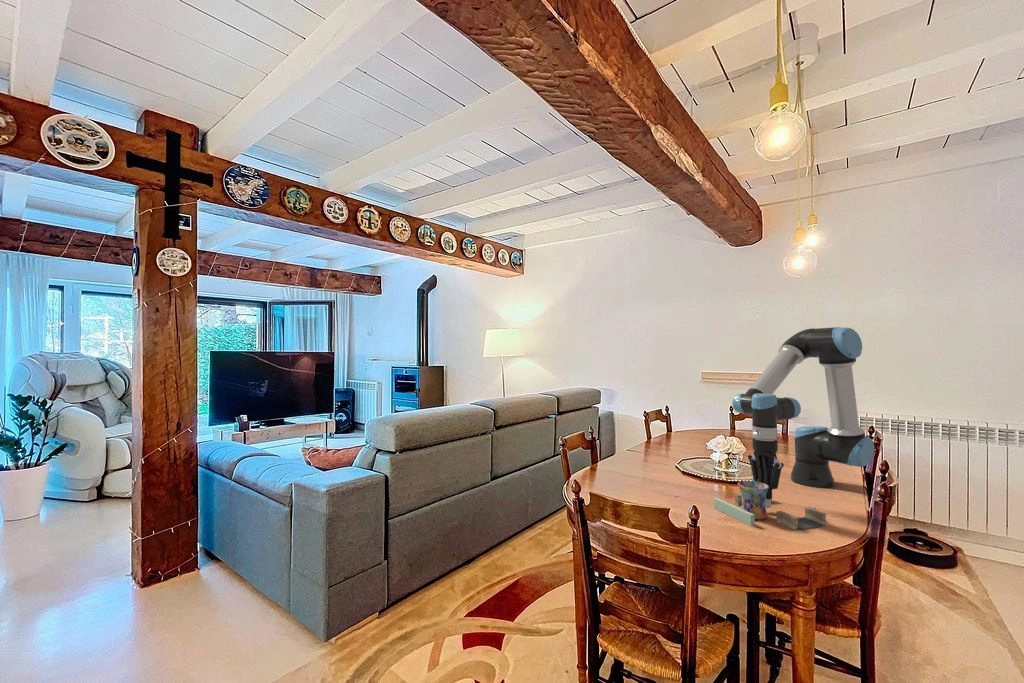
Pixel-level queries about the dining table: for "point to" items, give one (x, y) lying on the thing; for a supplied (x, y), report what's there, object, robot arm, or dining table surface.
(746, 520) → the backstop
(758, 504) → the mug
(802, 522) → the plate
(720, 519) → the dining table surface
